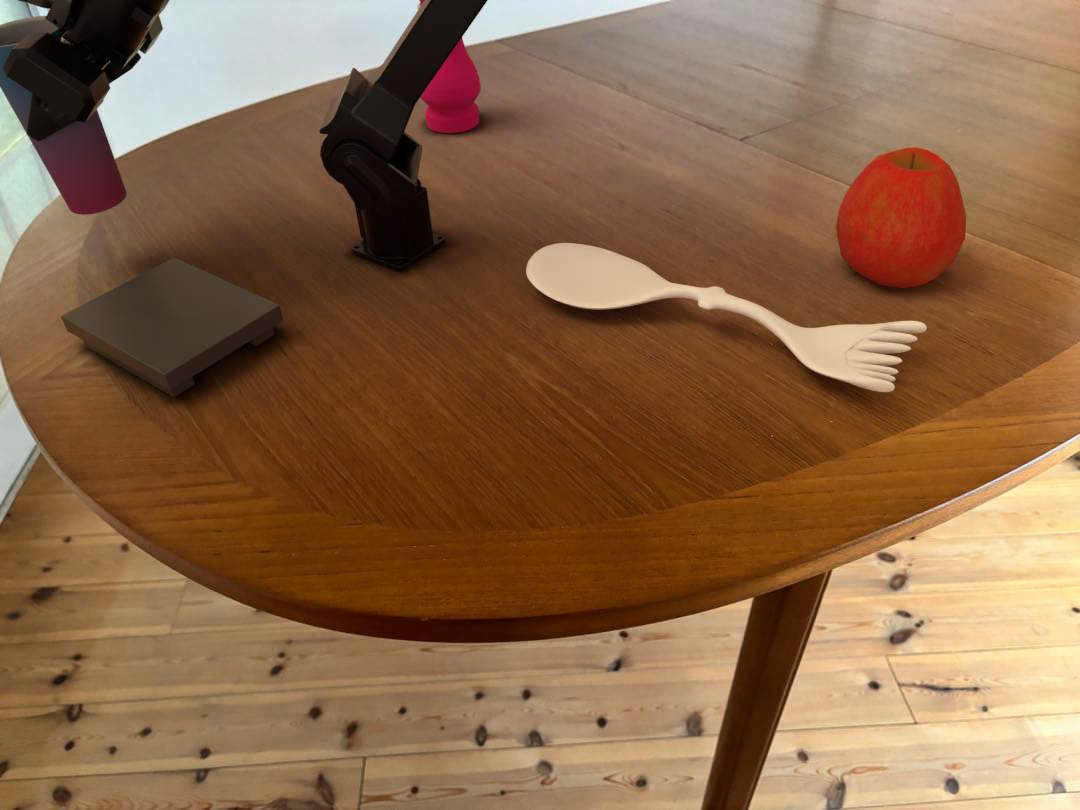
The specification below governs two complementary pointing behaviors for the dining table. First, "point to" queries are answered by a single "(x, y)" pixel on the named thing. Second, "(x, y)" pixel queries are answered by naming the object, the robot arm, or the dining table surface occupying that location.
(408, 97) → the robot arm
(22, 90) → the cup
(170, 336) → the grey footed tile
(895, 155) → the apple
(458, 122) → the pepper mill
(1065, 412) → the dining table surface
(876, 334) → the spoon
